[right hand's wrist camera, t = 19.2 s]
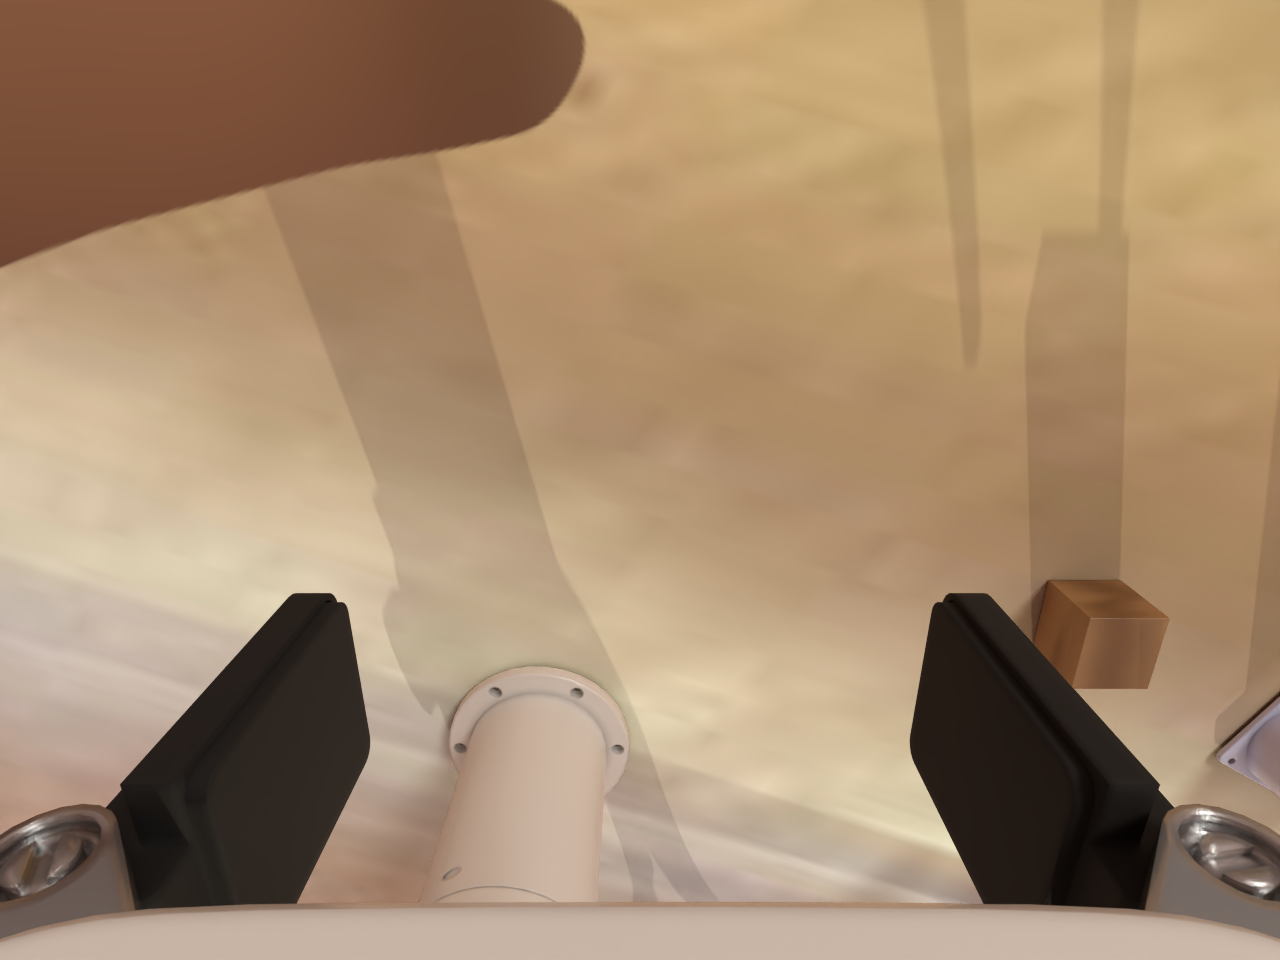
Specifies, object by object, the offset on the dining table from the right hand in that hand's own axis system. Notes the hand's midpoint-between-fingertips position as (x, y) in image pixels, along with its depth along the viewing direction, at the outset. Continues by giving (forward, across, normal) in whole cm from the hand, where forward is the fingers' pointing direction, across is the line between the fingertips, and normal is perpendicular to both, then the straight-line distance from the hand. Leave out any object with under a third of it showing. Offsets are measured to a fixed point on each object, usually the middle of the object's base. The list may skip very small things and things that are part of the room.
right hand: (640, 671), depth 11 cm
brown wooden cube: (+31, -29, +18) cm, 46 cm away
